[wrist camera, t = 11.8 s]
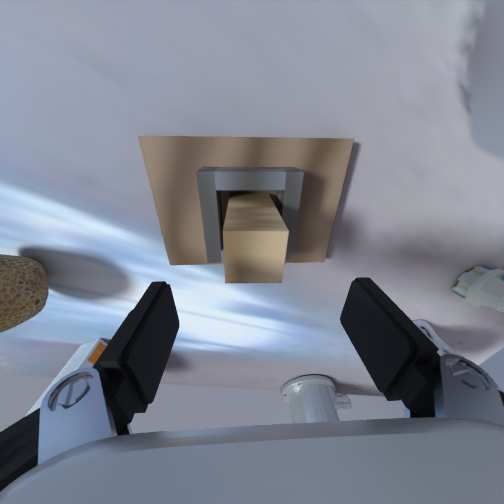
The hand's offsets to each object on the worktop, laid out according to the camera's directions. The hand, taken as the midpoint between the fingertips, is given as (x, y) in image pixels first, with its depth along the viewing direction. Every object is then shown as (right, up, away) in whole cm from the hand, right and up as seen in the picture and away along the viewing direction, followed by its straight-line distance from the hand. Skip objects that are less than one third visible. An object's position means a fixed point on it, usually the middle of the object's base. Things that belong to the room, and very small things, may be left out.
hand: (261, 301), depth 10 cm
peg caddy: (-1, +8, +12) cm, 15 cm away
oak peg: (-1, +7, +11) cm, 13 cm away
